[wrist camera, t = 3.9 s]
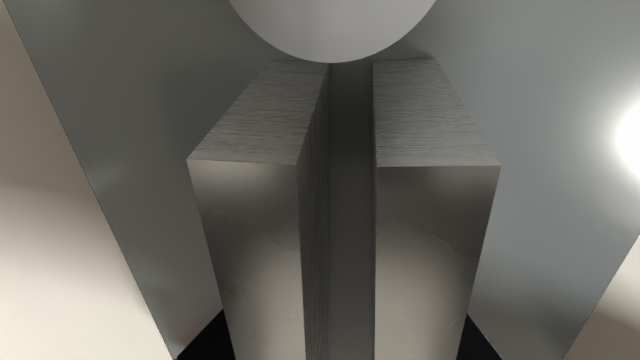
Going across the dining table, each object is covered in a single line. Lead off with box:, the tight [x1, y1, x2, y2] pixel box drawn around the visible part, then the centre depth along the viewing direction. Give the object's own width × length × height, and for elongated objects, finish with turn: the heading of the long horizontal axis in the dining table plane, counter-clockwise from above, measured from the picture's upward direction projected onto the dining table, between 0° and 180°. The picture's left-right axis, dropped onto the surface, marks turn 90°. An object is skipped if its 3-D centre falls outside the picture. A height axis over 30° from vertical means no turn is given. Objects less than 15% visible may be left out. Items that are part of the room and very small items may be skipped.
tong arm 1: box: [371, 58, 502, 360], centre depth 8 cm, size 2×12×4 cm, turn 5°
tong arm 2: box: [186, 60, 330, 360], centre depth 9 cm, size 2×12×4 cm, turn 0°
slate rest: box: [3, 0, 640, 360], centre depth 8 cm, size 14×18×5 cm
